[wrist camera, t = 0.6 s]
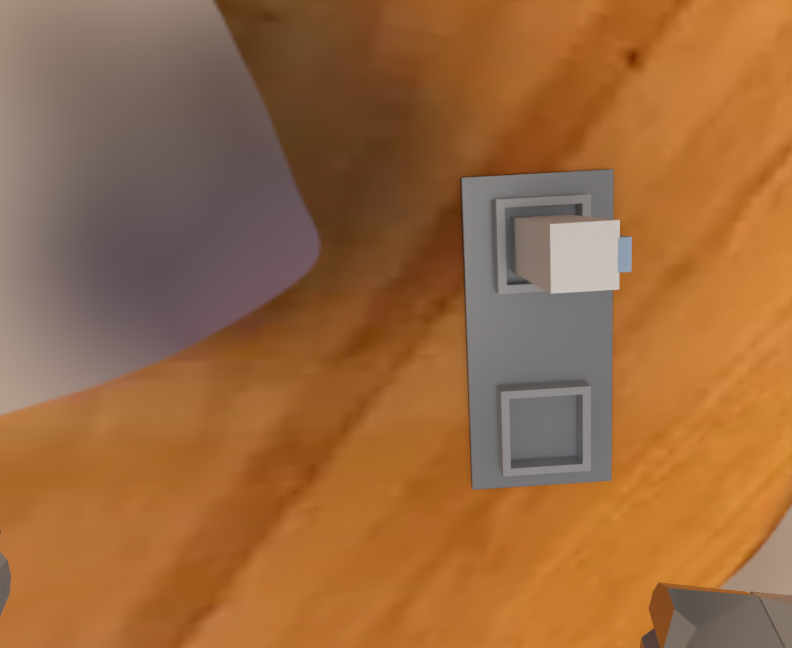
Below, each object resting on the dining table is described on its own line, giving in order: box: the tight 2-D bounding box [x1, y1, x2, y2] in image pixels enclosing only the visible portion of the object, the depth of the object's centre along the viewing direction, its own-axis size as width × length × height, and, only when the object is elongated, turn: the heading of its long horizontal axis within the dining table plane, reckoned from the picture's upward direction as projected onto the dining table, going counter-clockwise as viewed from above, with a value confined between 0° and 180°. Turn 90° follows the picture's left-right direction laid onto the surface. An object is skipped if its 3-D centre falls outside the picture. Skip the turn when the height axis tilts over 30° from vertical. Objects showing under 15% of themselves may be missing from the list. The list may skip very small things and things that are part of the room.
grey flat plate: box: [461, 169, 614, 490], centre depth 50 cm, size 24×11×2 cm, turn 3°
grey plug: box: [511, 214, 632, 294], centre depth 44 cm, size 4×5×11 cm
